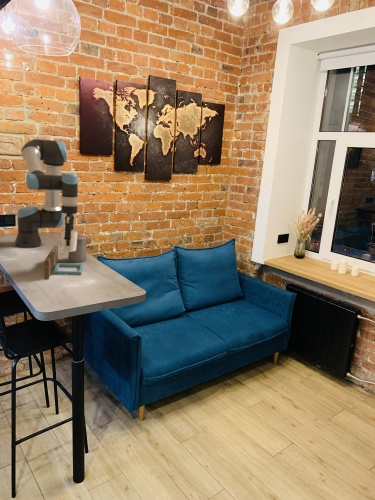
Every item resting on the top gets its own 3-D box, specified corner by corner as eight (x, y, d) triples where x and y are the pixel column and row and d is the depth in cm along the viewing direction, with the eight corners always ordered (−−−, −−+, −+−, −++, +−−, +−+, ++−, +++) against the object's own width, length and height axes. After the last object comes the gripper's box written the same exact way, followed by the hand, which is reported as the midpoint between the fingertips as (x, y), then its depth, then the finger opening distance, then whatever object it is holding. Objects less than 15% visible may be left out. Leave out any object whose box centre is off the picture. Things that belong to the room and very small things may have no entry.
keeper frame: (81, 274, 186) (81, 272, 186) (53, 274, 184) (53, 271, 183) (83, 266, 199) (83, 264, 199) (57, 265, 196) (57, 263, 196)
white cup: (80, 249, 191) (80, 230, 188) (70, 253, 184) (71, 233, 181) (67, 247, 193) (67, 228, 191) (57, 250, 186) (57, 231, 183)
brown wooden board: (48, 279, 177) (48, 261, 174) (44, 278, 176) (44, 260, 174) (57, 261, 203) (57, 246, 201) (54, 261, 203) (54, 245, 200)
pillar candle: (73, 256, 215) (73, 231, 211) (89, 259, 213) (89, 233, 209) (65, 261, 205) (64, 235, 201) (81, 263, 204) (81, 237, 200)
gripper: (75, 208, 174) (74, 255, 179) (79, 202, 193) (78, 245, 199) (58, 207, 172) (58, 254, 178) (64, 201, 192) (64, 244, 197)
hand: (69, 249), depth 188 cm, fingers closed on white cup, 7 cm apart
